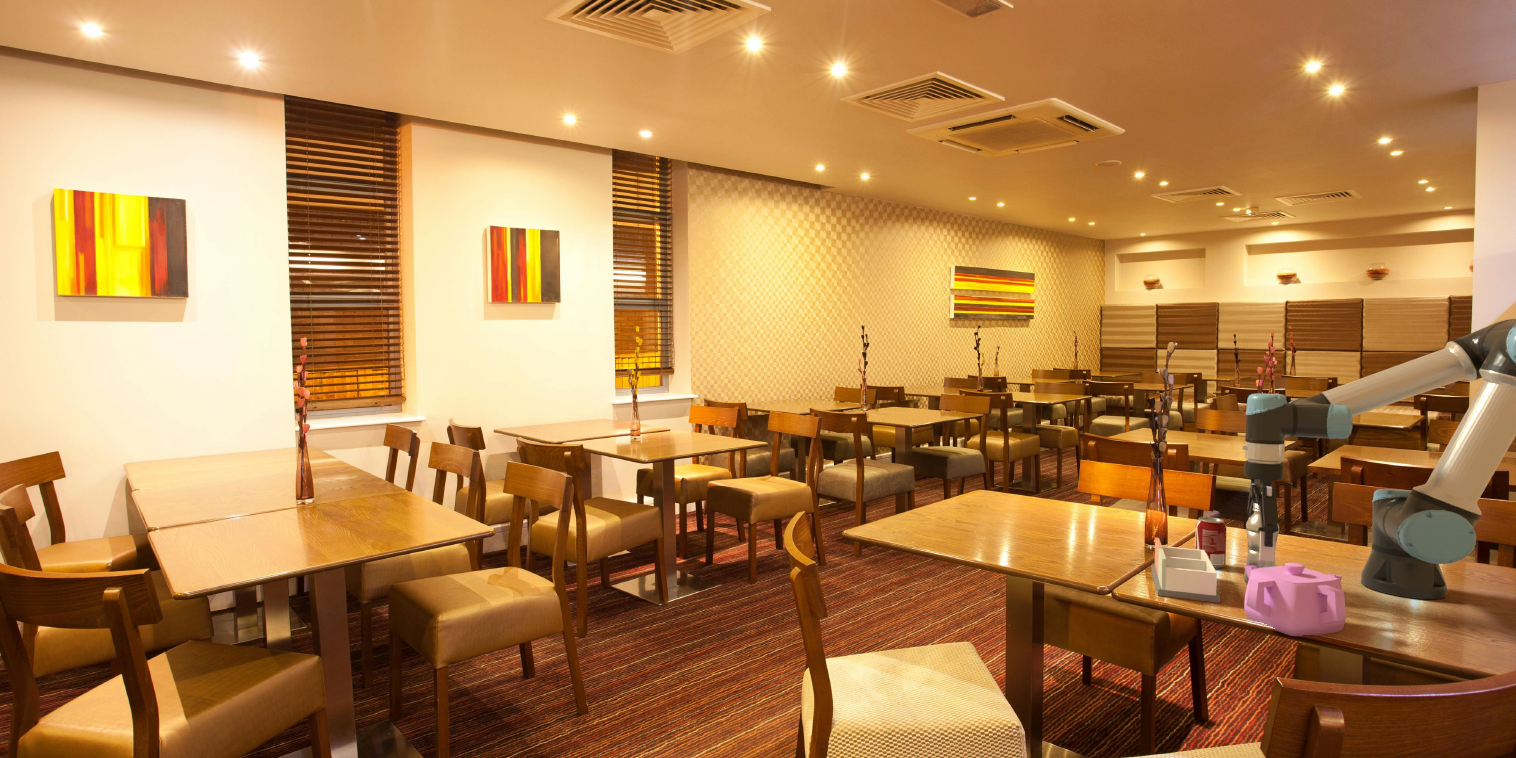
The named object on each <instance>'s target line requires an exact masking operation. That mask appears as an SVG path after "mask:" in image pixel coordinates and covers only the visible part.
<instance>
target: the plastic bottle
mask: <svg viewBox="0 0 1516 758" xmlns="http://www.w3.org/2000/svg"><path fill="white" fill-rule="evenodd" d="M1253 511H1254V514H1253V515H1252V516H1251V517H1248V518H1247V519H1248V520H1247V521H1246V523H1245V529H1246V530H1245V531H1246V532H1245V533H1246V538H1247V548H1248V549H1247V558H1246V565H1245V566H1249V565H1250V566H1256V567H1257V568H1264V567H1274V566H1276V565H1277V564H1276V557H1275V558H1274V561H1264V560H1259V553H1260V531H1258V528H1259V527H1262V526H1261V518H1260V509H1259V505H1257V504H1256V502H1254V503H1253ZM1279 532H1280V526H1279V524H1278V532H1276V533H1275V554H1276V551H1277V550H1276V549H1277V543H1278V540H1279V539H1278V537H1279ZM1243 574H1244V575H1243V580H1244V583H1245V585H1246V586H1247V585H1248V581H1249V578H1248V575H1247V573H1246V570H1245V569H1244V573H1243Z"/></svg>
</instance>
